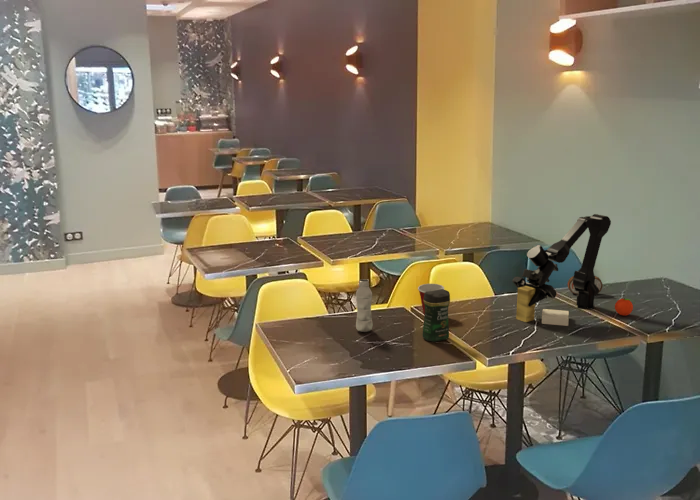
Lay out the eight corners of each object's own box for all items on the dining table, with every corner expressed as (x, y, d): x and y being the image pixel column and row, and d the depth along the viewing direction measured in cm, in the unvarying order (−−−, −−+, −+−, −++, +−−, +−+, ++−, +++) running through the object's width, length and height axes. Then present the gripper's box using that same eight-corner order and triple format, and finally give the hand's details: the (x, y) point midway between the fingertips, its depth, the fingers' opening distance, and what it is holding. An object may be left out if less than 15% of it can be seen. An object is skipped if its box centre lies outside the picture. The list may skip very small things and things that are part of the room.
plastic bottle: (374, 329, 276) (374, 279, 271) (369, 334, 270) (369, 283, 265) (358, 327, 278) (358, 277, 274) (353, 332, 272) (353, 282, 267)
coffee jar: (431, 343, 259) (432, 294, 255) (419, 337, 266) (419, 289, 262) (452, 339, 264) (454, 291, 260) (440, 333, 271) (441, 286, 267)
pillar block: (524, 316, 289) (526, 285, 286) (534, 319, 285) (536, 288, 282) (516, 319, 286) (517, 288, 283) (525, 322, 282) (527, 290, 279)
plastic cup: (413, 317, 289) (414, 289, 287) (421, 310, 299) (422, 282, 296) (440, 320, 285) (440, 291, 283) (446, 312, 295) (447, 284, 292)
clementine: (632, 312, 293) (633, 296, 292) (637, 318, 286) (638, 301, 285) (612, 312, 294) (613, 295, 292) (616, 317, 287) (618, 300, 286)
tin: (600, 293, 321) (602, 275, 320) (602, 295, 318) (603, 277, 317) (566, 292, 323) (567, 274, 321) (568, 294, 320) (569, 276, 318)
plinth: (568, 318, 287) (568, 310, 286) (568, 325, 278) (568, 318, 277) (542, 316, 290) (542, 308, 289) (541, 323, 281) (542, 316, 280)
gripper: (516, 257, 290) (496, 287, 286) (553, 265, 275) (533, 298, 272) (528, 272, 296) (508, 303, 293) (565, 282, 282) (545, 314, 278)
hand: (523, 304), depth 283 cm, fingers closed on pillar block, 5 cm apart
